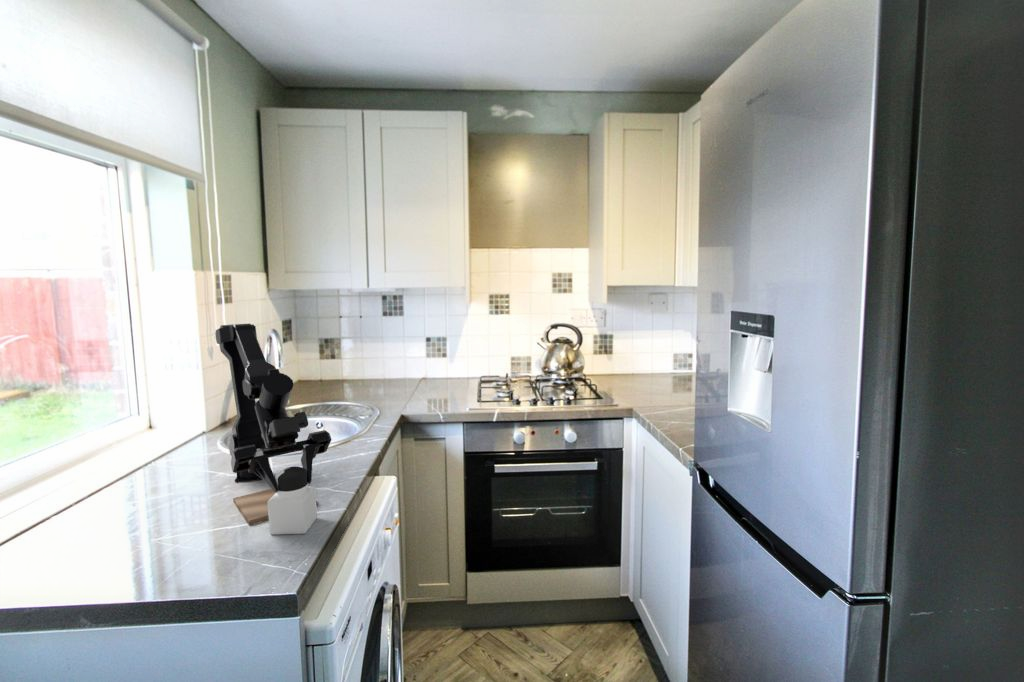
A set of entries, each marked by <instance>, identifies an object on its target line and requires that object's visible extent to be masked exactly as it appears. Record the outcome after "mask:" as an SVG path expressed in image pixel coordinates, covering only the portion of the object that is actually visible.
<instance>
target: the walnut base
mask: <svg viewBox="0 0 1024 682" xmlns="http://www.w3.org/2000/svg"><path fill="white" fill-rule="evenodd" d="M274 494H275V492H274V491H273V490H272V489H271V488H268V489H265V490H261V491H256V492H252V493H249V494H244V495H242V496H241V495H240V496H236V497H233V498H232V499H233V500H232V502H233V504H234V505H235V507H236V508H237V510H238V511H239V513H240V514H241V516H242V517H243V519H244V520H245V522H246V523H247V524H248V526H251V525H256V524H258V523H262V522H266V521H269V516H268V500H269V499H270V498H271V497H272V496H273V495H274ZM316 505H317V506H318V500H316Z"/></svg>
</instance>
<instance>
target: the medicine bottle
mask: <svg viewBox="0 0 1024 682" xmlns="http://www.w3.org/2000/svg"><path fill="white" fill-rule="evenodd" d="M274 477H275V480H276V482H277V486H278V492H276V493H275V494H274V495H273V496H272V497H271V498H270V499H269V500H268V516H269V520H268V525H269V526H268V527H269V528H268V529H269V534H270V535H305V534H306V533H307V532H308V531H309V529H310V528H311V526H312V525H313V523H314V522H315V521H316V519H318V509H317V507H318V504H317V505H316V501H317V493H316V491H317V489H316V486H315V485H309V484H308V482H307V470H306V469H304V468H303V466H302V467H301V466H287V467H285V468H282V469H280V470H278V471H277V472H276V473H275V474H274Z"/></svg>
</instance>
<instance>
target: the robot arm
mask: <svg viewBox="0 0 1024 682" xmlns="http://www.w3.org/2000/svg"><path fill="white" fill-rule="evenodd" d="M256 327H257V326H256V325H254V324H252V323H238V324H237V323H236V324H222V325H220V326H219V328H217V329H216V330H215V340H216V344H218V345H219V350H220V353H221V354H223V356H225V358H226V359H227V360H228V362H229V367H230V374H231V381H232V388H233V394H234V401H235V408H236V409H235V410H236V414H237V417H236V420H235V422H234V423H233V426H232V428H231V429H232V430H231V432H232V434H231V435H230V439H229V443H228V451H229V455H230V456H231V459H230V465H231V470H232V473H235V474H236V477H235V479H234V482H235V483H238V482H239V483H240V482H251V481H252V482H253V481H262V480H263V482H265V483H266V484H267V486H269V488H270V489H272V490H273V491H274V492H275V493H276V492H278V486H277V482H276V480H275V477H274V476H275V474H274V473H273V471H272V468H271V464H270V459H269V458H273V457H278V456H282V455H287V454H293V453H297V452H300V451H301V454H302V455H301V458H300V463H301V466H302V468H304V469H306V470H307V482H308V485H311V483H312V477H313V476H312V475H313V473H312V472H313V460H314V459H315V458H316V456H317V455H320V454H324V453H325V452H327V450H328V448H329V447H330V444H331V442H332V440H333V439H332V437H331V434H330V432H329V431H327V430H325V429H324V430H323V429H322V430H320V431H314V432H309V434H308V436H307V438H306V439H304V440H300V441H297V440H298V438H299V436H300V435H299V433H300V432H301V429H305V428H307V427H308V426H309V421H308V416H307V413H306V411H299V412H296V413H295V414H294V415H293V416H288V412H287V410H286V406H287V405H288V403H289V400H290V397H291V395H292V392H293V389H294V380H293V379H292V378H291V377H290V376H288V375H287V374H285V373H281V372H280V370H279V368H276V366H275V365H273V364H271V363H269V362H267V360H266V358H265V356H264V353H263V350H262V348H261V346H260V343H259V340H258V335H257V328H256ZM256 400H257V401H256Z"/></svg>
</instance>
